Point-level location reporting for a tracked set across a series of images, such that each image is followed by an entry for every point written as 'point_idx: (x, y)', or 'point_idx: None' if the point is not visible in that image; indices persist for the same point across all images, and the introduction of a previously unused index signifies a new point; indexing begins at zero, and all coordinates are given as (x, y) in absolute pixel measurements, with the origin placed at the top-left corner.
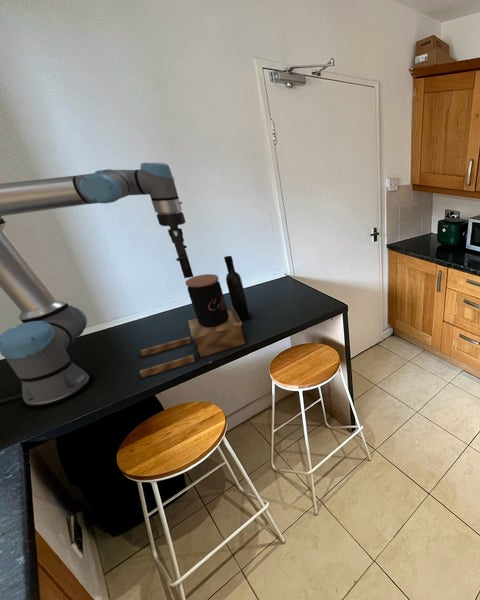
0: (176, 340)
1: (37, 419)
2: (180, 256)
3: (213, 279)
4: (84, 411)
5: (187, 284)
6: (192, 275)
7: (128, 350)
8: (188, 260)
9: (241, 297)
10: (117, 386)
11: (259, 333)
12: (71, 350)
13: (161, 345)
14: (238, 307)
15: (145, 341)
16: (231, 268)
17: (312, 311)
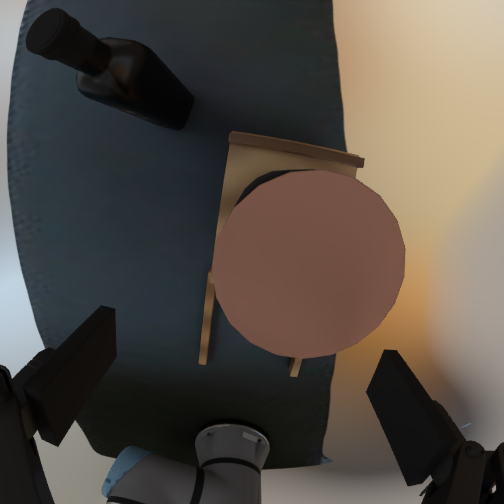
0: (207, 300)
1: (288, 454)
2: (488, 490)
3: (375, 217)
4: (320, 424)
5: (330, 354)
6: (398, 358)
7: (158, 368)
8: (452, 431)
9: (173, 82)
10: (288, 396)
11: (306, 109)
12: (104, 416)
13: (208, 331)
14: (176, 109)
15: (137, 339)
16: (98, 47)
17: None
